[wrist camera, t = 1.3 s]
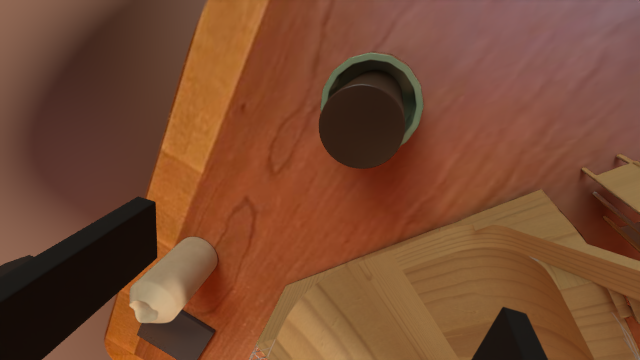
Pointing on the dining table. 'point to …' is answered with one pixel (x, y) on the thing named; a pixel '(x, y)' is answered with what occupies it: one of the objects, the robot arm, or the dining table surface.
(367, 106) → the dark brown cylinder
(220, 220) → the dining table surface
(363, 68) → the cup
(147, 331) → the coaster
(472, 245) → the skate ramp
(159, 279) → the candle
